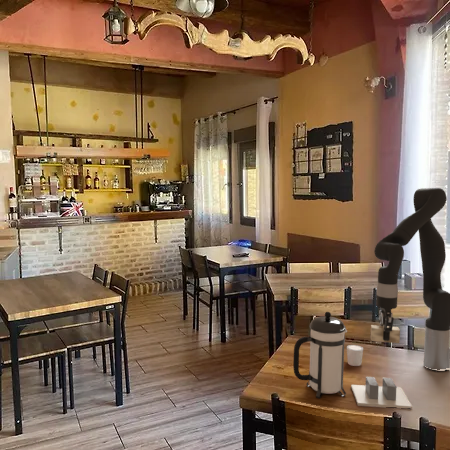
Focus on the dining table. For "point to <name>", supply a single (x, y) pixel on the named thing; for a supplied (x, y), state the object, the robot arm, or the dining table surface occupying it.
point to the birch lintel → (378, 334)
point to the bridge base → (380, 394)
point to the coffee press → (324, 355)
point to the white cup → (354, 355)
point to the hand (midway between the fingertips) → (384, 338)
